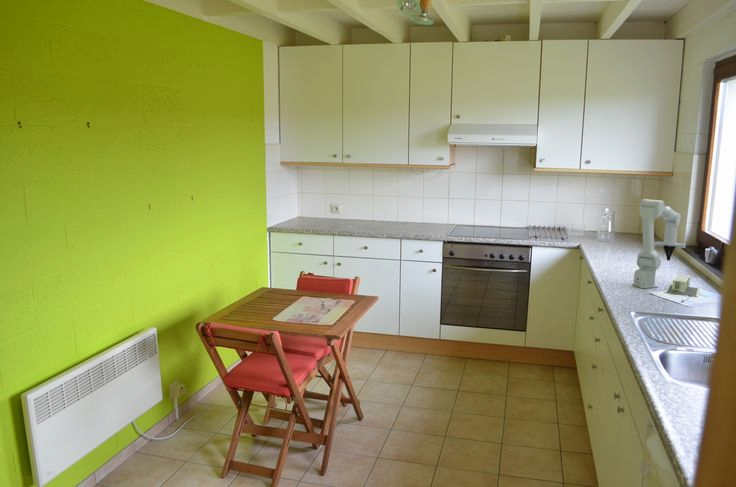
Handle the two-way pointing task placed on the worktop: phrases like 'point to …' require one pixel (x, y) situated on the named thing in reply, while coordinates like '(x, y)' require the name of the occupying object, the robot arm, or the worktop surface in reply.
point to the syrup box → (681, 283)
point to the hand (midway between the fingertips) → (668, 260)
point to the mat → (690, 292)
